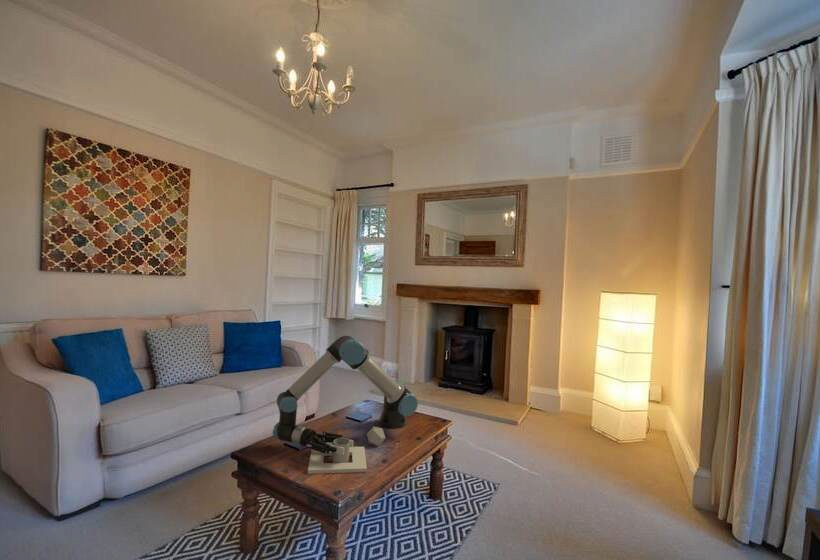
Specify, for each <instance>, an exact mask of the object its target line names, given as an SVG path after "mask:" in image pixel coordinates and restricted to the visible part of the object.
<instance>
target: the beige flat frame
mask: <svg viewBox="0 0 820 560" xmlns="http://www.w3.org/2000/svg"><path fill="white" fill-rule="evenodd" d="M310 451H311V453H310V455H309V456H310V457H309V461H308V468H307V475H310V474H311V475H312V474H314V475H315V474H317V475H319V474H344V473H345V474H348V473H367V472H368V471H367V469H368V468H367V459H366V450H365V446H353V447H350V450H349V456H351V458H352V459H351V461H352V462H348V463H333V462H325V463H324V458H325V457H332V455H333V454H332V452H330V451H329V454H327V451H326V453H321V452H319V451H316V450H313V449H310Z"/></svg>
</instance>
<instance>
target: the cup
mask: <svg viewBox="0 0 820 560" xmlns="http://www.w3.org/2000/svg"><path fill="white" fill-rule="evenodd" d="M350 440H351V439H349V438H346V437H342V438H337V439H335V440H334V441H333V442H332V445H336V446H340V447H344V455H342V454H338V453H334V452H332V454H333V455H332V456H331V458H332V459H331V460H332V462H331V463H349V461H350V455H349V450H350Z"/></svg>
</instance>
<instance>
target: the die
mask: <svg viewBox="0 0 820 560" xmlns="http://www.w3.org/2000/svg"><path fill="white" fill-rule="evenodd" d="M366 436H367V439H368V443H369V444H370V445H372V446H376V447H379V446H380V445H381V444H382V443H383V442H384V440H385V439H386V435H385V432H384V428H382V427H378V426H374V425H373V426H372V428H370V430H369V431H368V432H367V433H366Z"/></svg>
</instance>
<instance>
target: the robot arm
mask: <svg viewBox="0 0 820 560" xmlns="http://www.w3.org/2000/svg"><path fill="white" fill-rule="evenodd" d="M341 361H342V362H344V363H345V364H347V366H349V367H350V368H351V369H352V370H357V371H359V372H360V374H362V375H363V376H364V377H365V378H367V380H368V381H369V382H370V383H371V384H372V385H374V386H375V387H376V388H377V389H378V390H379V391H380V392H381V393H382V394H383V408H382V411H381V414H380V417H379V424H380V425H381V426H383V427H386V428H391V429H399V428H403V427H404V426H406V425H407V416H408V417H409V416H412V415H413V414H414V413H415V412H416V410H417V409H418V407H419V400H418V397H417V396H416V395H415V394H414V393H412V392H411V391H410V390H409V389H408V388H407V387H406V383H405V382H404V381H396V380H395V379H394V378H392V377H391V376H390V375H389V374H388V373H387V372H386V371H385V370H384V369H383V368H382V367H381V366H380V365H379V364H378V363H377V362H375V360H374V359H373V358H372V357H371V356H370V351H369V350H368V349H367V348H366V347H365V345H364V344H363V343H362V342H361V341H360V340H358V339H355V338H354V337H352V336H350V335H341V336H339V337H338V338H337V339H336V340H334V341H333V342H332V343H331V344H330V345H329V346H328V347H327V348H326V349H325V353H324V354H322V356H320V358H318V360H316V362H314V363H313V364H312V365H311V367H309V368H308V369H307V370H306V371H305V372H304V373H303V374H302V375H301V376H300V377H299V378H298V379H297V380H296V381H295V382H293V384H292V385H291V386H290V387H289V388H287V390H285V391H283V392H282V391H281V392H280V393H279V394H278V395H277V397H276V405H277V408H278V412H279V422H277V423H275V425H274V427H273V430H272V435H273V438H275V439H277V440H279V441H283V442H287V443H291V444H295V445H297V446H299V445H300V446H302V447H305V448H307V449H309V450H312V449H313V450H316V451H319V452H321V453H326V451H327V454H329V451H330V452H334V453H338V454H342V455H344V447H340V446H336V445H332V444H331V445H328V444H326V442H331V443H332V442H333V441H334V440H335V439H337V438H343V434H339V433H332V432H327V431H326V430H325V431H322V433H317V432H316V430H315V429H313V428H310V427H304V426H300V425H297V414H298V411H297V410H298V401H299V400H300V399H301V398H302V397H303V395H305V394H306V393H307V392H308V391H309V390H310V389H311V388H312V387H313V386H314V385H315V384H316V383H317V382H318V381H319V380H320V379H321V378H322V377H323V376H324V375H325V374H327V372H328V371H329V370H330V369H332V367H333V366H335V364H339V363H341ZM349 440H350V447H354V440H353V439H349Z"/></svg>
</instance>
